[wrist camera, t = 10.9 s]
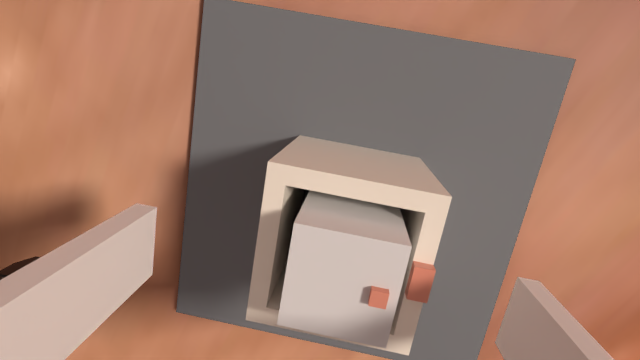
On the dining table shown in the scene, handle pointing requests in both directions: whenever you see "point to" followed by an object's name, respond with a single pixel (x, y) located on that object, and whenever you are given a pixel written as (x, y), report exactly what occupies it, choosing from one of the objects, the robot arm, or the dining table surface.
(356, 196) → the cream square sleeve
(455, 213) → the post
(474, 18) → the dining table surface
